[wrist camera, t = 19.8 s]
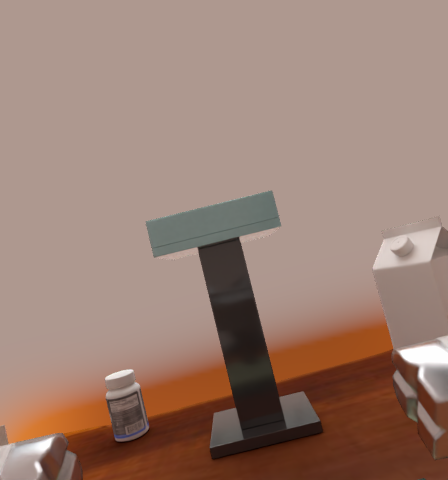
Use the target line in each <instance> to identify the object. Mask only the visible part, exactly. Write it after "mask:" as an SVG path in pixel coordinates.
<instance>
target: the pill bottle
mask: <svg viewBox="0 0 448 480" xmlns="http://www.w3.org/2000/svg"><path fill="white" fill-rule="evenodd" d="M134 381H135V375H134V371H133V370H123V371H119V372H116V373H113V374H111V375H109V376H107V377H106V378H105V383H106V387H107V389H109V391H108V392H107V394H106V400H107V405H108V409H109V414H110V418H111V423H112V427H113V432H114V437H115V440H116V441H118V442H125V441H130V440H133V439H136V438H138V437H140V436H142V435H143V434H145V433H146V432H147V431H148V429H149V424H148V419H147V415H146V411H145V407H144V402H143V398H142V394H141V389H140V385H139V384H138V383H136V382H134Z"/></svg>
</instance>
